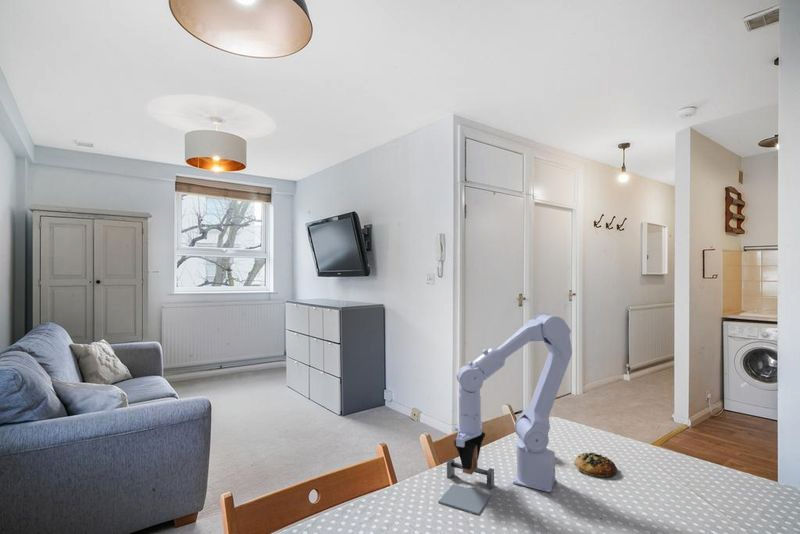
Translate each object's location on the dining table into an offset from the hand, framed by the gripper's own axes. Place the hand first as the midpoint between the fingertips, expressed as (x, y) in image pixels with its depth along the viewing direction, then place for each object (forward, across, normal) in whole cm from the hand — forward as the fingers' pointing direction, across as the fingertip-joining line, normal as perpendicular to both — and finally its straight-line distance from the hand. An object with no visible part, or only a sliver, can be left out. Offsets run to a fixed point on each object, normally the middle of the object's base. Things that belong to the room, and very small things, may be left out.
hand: (470, 464), depth 108 cm
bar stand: (+4, 0, 0) cm, 4 cm away
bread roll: (+5, -24, +28) cm, 37 cm away
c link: (+1, 0, 0) cm, 1 cm away
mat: (+4, +9, +2) cm, 10 cm away
